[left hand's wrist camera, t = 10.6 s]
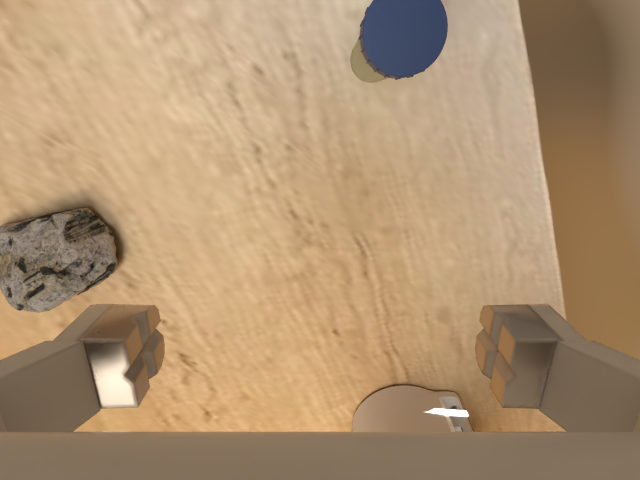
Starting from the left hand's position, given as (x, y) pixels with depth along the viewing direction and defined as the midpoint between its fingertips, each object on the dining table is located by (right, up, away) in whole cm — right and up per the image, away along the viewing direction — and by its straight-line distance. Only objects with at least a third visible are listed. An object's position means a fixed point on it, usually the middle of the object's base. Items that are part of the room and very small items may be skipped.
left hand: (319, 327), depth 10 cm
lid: (+5, +15, +15) cm, 22 cm away
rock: (-32, +1, +40) cm, 52 cm away
